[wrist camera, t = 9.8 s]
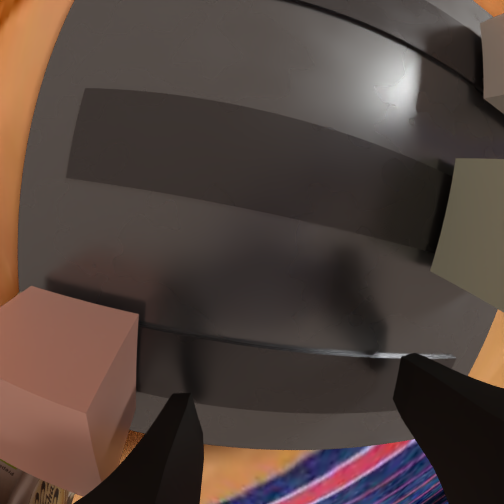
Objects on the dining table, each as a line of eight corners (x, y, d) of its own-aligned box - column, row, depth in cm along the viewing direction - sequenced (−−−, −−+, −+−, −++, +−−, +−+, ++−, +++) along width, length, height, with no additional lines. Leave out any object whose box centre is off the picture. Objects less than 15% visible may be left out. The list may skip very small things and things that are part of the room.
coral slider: (138, 313, 9) (85, 413, 4) (136, 408, 9) (108, 504, 5) (31, 285, 8) (-53, 348, 4) (42, 379, 9) (-9, 453, 5)
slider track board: (513, 52, 9) (529, 48, 7) (421, 422, 13) (432, 438, 12) (139, -78, 6) (134, -95, 5) (47, 384, 11) (34, 402, 9)
